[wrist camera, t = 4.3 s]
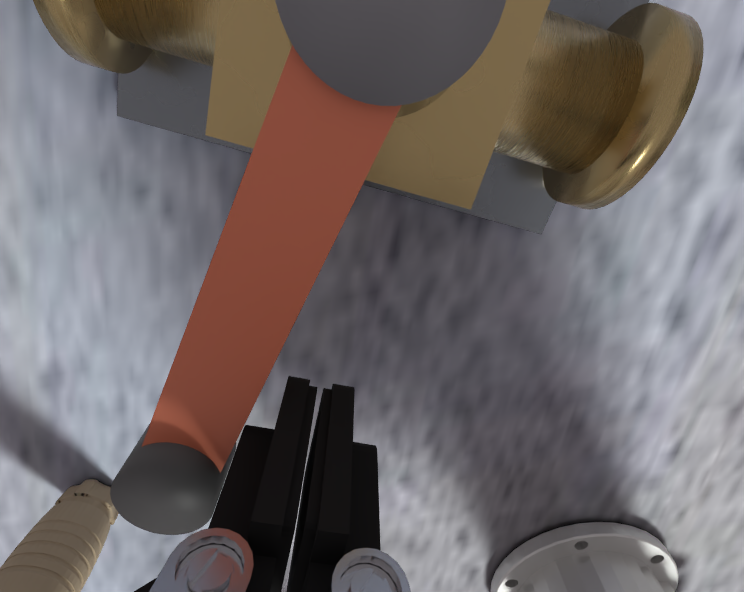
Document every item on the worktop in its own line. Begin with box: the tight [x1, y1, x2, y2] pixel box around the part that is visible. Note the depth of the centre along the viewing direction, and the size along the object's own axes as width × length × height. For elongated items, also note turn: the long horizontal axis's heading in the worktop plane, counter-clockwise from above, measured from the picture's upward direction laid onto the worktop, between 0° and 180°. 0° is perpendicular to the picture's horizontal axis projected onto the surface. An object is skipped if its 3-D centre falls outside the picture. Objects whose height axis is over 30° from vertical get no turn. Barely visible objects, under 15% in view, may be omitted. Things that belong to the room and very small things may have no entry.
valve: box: [33, 0, 703, 234], centre depth 12 cm, size 18×10×11 cm, turn 74°
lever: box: [110, 0, 506, 535], centre depth 8 cm, size 13×3×2 cm, turn 153°
